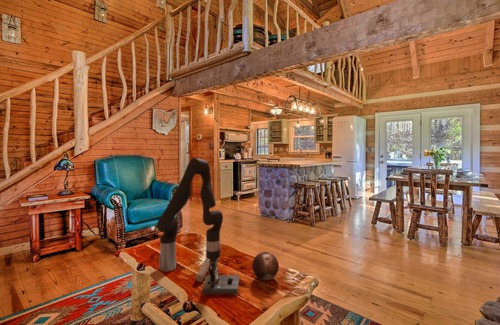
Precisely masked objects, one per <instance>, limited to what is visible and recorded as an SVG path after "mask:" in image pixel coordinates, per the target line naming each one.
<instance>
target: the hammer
mask: <svg viewBox="0 0 500 325" xmlns="http://www.w3.org/2000/svg"><path fill="white" fill-rule="evenodd" d="M209 261H210V259H208V258H207V257H206V258H205V259H204V261H203V263H202V265H201V267H200V268H199V270H198V272H197V273H196V275H195V280H196V282H199V283H202V282H203V281H204V279H205V277H206V276H207V273H208V272H209ZM218 262H219V258H217V264H218Z"/></svg>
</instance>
